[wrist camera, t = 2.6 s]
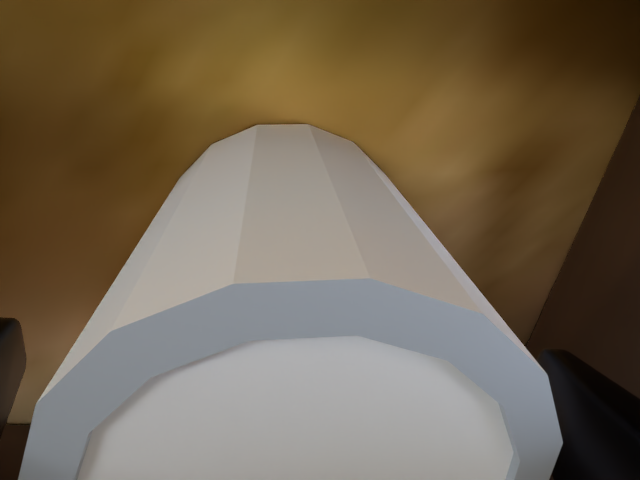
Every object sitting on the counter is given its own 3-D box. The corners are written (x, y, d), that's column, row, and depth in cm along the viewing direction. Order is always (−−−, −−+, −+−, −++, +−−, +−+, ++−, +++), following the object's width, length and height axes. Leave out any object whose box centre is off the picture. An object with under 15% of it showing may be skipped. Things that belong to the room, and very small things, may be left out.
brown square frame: (753, -74, 10) (1004, -82, 7) (499, 452, 18) (556, 576, 14) (-216, -274, 8) (-616, -454, 4) (-28, 440, 15) (-114, 588, 12)
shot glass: (381, 353, 15) (460, 634, 9) (133, 328, 14) (30, 636, 8) (462, 124, 12) (674, 324, 6) (146, 64, 10) (-17, 237, 4)
